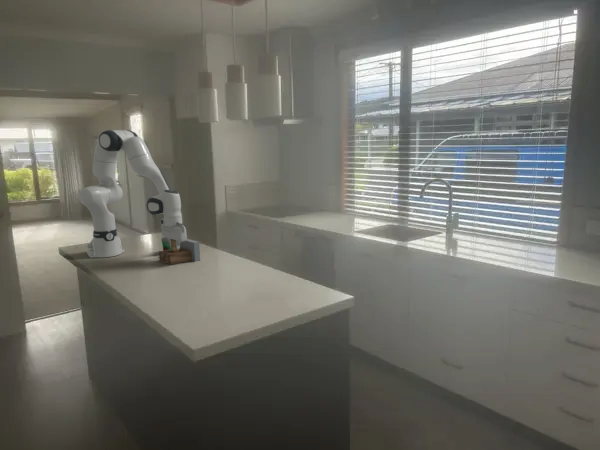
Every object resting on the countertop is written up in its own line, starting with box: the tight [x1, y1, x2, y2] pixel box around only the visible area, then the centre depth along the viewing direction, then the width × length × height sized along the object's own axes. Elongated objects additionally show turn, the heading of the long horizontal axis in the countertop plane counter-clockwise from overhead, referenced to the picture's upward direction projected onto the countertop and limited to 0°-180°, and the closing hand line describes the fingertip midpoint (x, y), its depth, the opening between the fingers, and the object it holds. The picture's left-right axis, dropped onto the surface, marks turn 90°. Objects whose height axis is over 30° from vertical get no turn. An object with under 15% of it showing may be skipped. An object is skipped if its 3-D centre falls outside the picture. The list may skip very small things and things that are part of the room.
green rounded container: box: [161, 237, 171, 251], centre depth 245 cm, size 12×6×10 cm, turn 168°
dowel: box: [171, 239, 179, 253], centre depth 227 cm, size 4×4×8 cm
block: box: [158, 248, 192, 266], centre depth 228 cm, size 12×12×5 cm
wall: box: [180, 238, 201, 262], centre depth 233 cm, size 18×3×10 cm, turn 44°
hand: (175, 247), depth 228 cm, fingers closed on dowel, 4 cm apart
